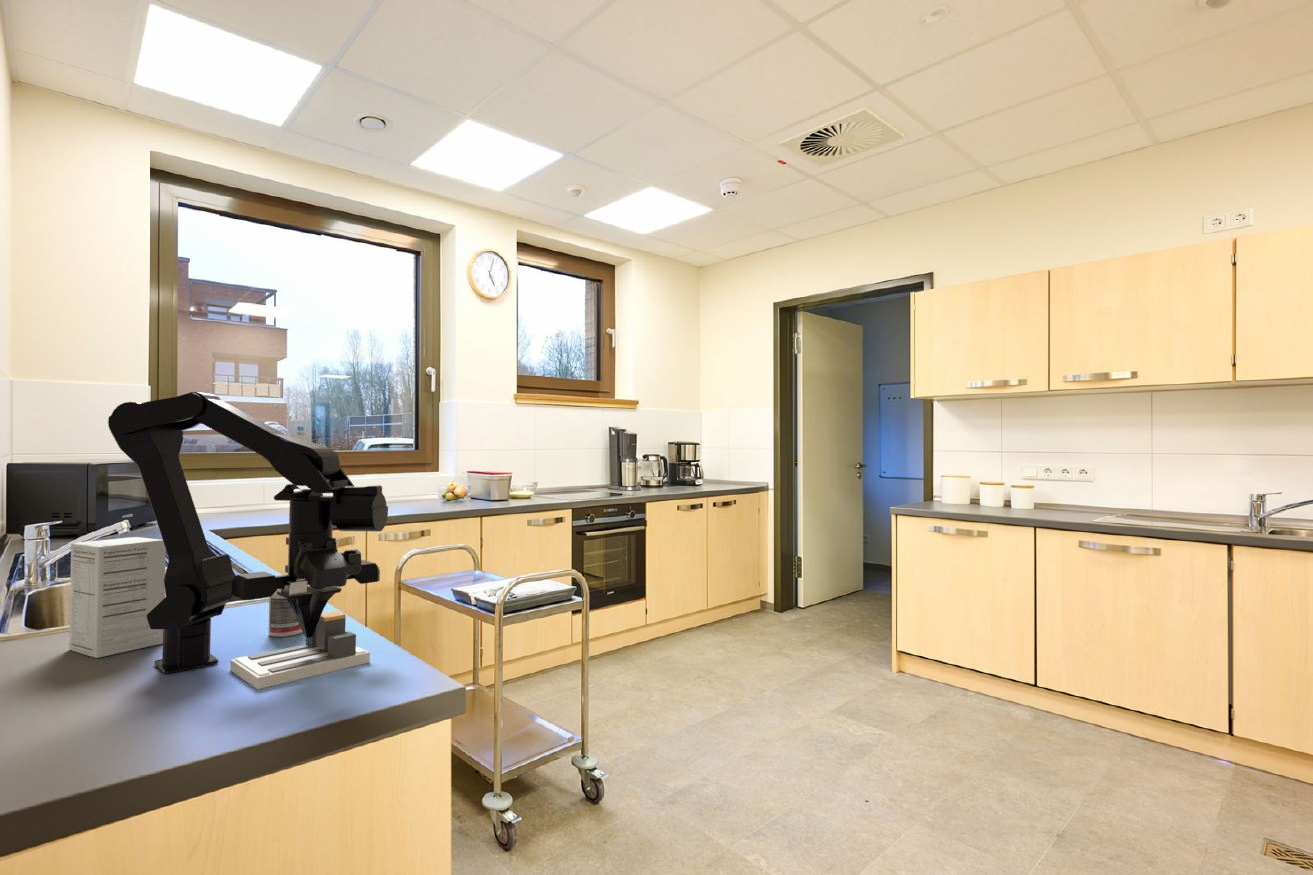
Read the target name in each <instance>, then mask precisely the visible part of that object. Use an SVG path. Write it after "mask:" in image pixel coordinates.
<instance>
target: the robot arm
mask: <svg viewBox="0 0 1313 875" xmlns="http://www.w3.org/2000/svg"><path fill="white" fill-rule="evenodd" d="M107 425H108V428H109V431H110V433H111V435H112V437H113V439H114V440H115V443H116V445H117V446H118V448H119V449H120V450H121V451H122V452H123V453H124V454H125V455H126V456H127V457H128V458H129V459H130V460H131V461H133V462H134V464H136V466H137V467H138V470H139V473H140V475H141V476H140V477H141V479H142V482H143V485H144V487H145V491H146V493H147V497H148V500H149V502H150V506H151V509H152V512H153V515H154V518H155V521H156V524H157V526H158V530H159V533H160V536H161V540H163V542H164V545H165V548H166V553H167V554H166V555H167V558H168V562H167V566H166V569H165V578H164V586H165V598H164V599H163V600H162V601H161V602H160V603H159V604H158V605H157V606H156V607H155V608H154V609H152V610H151V611H150V612H149V613H148V614H147V620H148V623H149V626H150V629H163V644H162V655H161V656H162V658H161V659H156V660H154V662H153V663H154V665H155V666H156V667H157V668H158V669H159V670H160V671H161V672H162V673H163V674H164V673H165V674H171V673H174V672H181V671H184V670H185V671H186V670H189V669H194V668H201V667H205V666H209V665H215V664H218V663H219V658H217V657H216V656H214V655H213V654H211V636H212V634H211V633H212V631H211V629H212V628H211V627H212V625H211V624H212V618H214V617H218V616H220V615H221V616H222V614H223V612H224V609H225V606H226V605H227V603H228V602H229V601H230V600H231V599H232V597H233V596H234V597H236V598H238V599H240V600H242V601H252V600H258V599H259V600H260V599H266V598H268V599H269V597H271V596H272V595H273V594H274V593H275V592H276V591H277V589H281V590H278V591H277V595H280V596H282V597H284V598H286V599H287V601H288V602H289V604H290V606H291V607H292V609H293V611H294V613H295V615H296V618H297V620H298V622H299V625H300V627H301V629H302V633H303V636H304V638H305V639H306V638H310V637H312V636H313V634H314V632H315V629H316V627H317V624H318V622H319V619H320V617H321V614H323V612H324V609H325V607H326V606H327V603H328V602H329V600H330V599H331V598H333V596H334V595H336V594H338V593H341V592H342V588H341V587H344V586H346V585H347V581H349V580H353V579H354V580H355V581H356V582H357V583H358V584H360V585H363V584H370V583H371V584H372V583H377V582H380V580H381V579H380V578H381V576H380V574H381V573H380V572H381V571H380V567H379V566H378V564H377V563H376V562H372V561H369V560H366V559H365V560H364V559H362V552H361V551H360V550H359V549H347V550H346V549H345V550H344V551H342V552H339V551H338V548H337V540H336V537H333V527H334V526H335V528H337V530H338V531H340V532H382V531H383V530H384V529H385V527H386V524H387V521H388V517H389V516H388V515H389V506H388V505H387V499H386V497H385V495H384V494H383V485H381V484H380V485H375V484H374V485H368V486H355V485H354V484H353V482H352V481H351V479H350V478H349V476H348V475H347V474H346V472H345V470H344V469H343V468H342V467H341V464H340V459H339V455H338V453H337V452H336V451H335V450H333V449H332V448H330V447H328V446H325V445H322V444H318V443H315V442H312V441H309V440H305V439H301V438H297V437H295V436H294V437H293V436H292V435H291V436H290V435H288V434H285V433H283V432H281V431H279V430H278V429H276V428H275V427H272V426H270V425H268V424H266V423H265V422H263V421H261V420H260V419H257V418H256V417H253V416H252V415H250V414H248V413H247V412H244V411H242V410H240V409H239V408H237V407H235V406H233V405H231V404H230V403H227V402H226V401H224V400H222V399H221V398H220V397H219V396H217V394H213V393H208V392H207V393H206V392H199V391H191V392H187V393H185V394H180V395H177V396H172V397H167V398H161V399H155V400H149V401H145V402H135V401H128V402H127V401H126V402H123V403H121V404H119V405H117V406H116V407H115V408H114V409H113V411H112V413H111V415H110V416H108V419H107ZM199 425H204V426H206V427H208V428H209V429H211V430H213V431H215V432H217V433H218V434H221V435H223V436H225V437H226V438H227V439H230V440H232V441H234V442H235V443H237V444H239V445H240V446H243V447H245V448H246V449H249V450H250V451H252V452H255V453H256V454H258V455H260V456H261V457H262V458H263V459H265V460H266V461H267V462H268V463H269V464H270V466H271V467H272V469H273V470H275V472H277V473H278V474H279V475H281V476H282V478H284V479H285V480H287V481H288V482H290V483H289V484H288V483H287V484H286V485H285V486H284V488H283V489H282V490H280V491H279V492H277V494H275V495H274V496H273V500H275V501H281V502H282V501H285V502H287V501H289V514H288V515H289V516H288V520H289V521H288V537H285V545H287V546H288V550H287V551H288V552H287V558H288V559H287V564H285V566H284V567H285V568H284V572H285V573H287V574H283V575H275V574H272V573H269V572H266V571H257V572H256V571H255V572H250V573H249V572H248V573H240V574H236V573H235V572H234V569H233V566H232V559H231V557H230V556H229V554H228V553H225V554H221V555H218V554H216V553H215V552H214V551H213V550H212V549H211V548H210V547H209V545H208V542H207V540H206V536H205V533H204V531H203V528H202V524H201V520H200V518H199V515H198V513H197V509H196V506H195V503H194V499H193V497H192V494H191V491H190V488H189V485H188V482H187V480H186V476H185V472H184V470H183V467H182V464H181V460H180V453H181V449H182V444H183V440H184V436H183V435H184V434H183V432H184V431H187V430H189V429H194V428H195V427H197V426H199ZM300 486H301V487H307V488H300ZM324 494H332V495H324ZM298 579H299V580H298Z"/></svg>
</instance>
